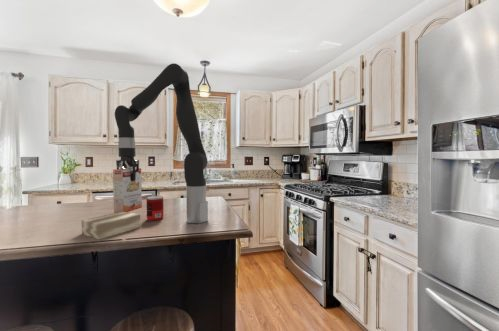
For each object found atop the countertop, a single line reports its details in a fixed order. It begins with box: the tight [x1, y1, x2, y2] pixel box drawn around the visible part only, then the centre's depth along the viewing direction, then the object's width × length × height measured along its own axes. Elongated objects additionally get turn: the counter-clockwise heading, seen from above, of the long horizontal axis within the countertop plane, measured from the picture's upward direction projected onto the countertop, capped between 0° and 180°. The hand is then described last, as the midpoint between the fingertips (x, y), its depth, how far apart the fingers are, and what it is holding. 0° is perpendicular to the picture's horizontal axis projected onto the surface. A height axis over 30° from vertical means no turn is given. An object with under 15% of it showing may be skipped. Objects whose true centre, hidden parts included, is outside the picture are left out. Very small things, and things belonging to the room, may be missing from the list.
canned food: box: [146, 195, 164, 222], centre depth 124 cm, size 8×8×11 cm
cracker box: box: [112, 167, 143, 214], centre depth 124 cm, size 14×6×21 cm, turn 168°
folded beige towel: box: [81, 211, 141, 240], centre depth 105 cm, size 12×18×6 cm, turn 150°
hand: (127, 180), depth 124 cm, fingers closed on cracker box, 6 cm apart
